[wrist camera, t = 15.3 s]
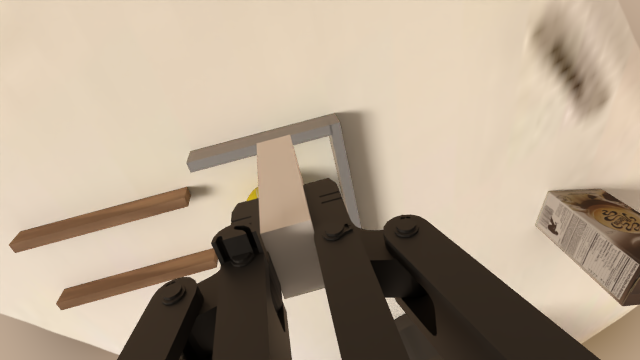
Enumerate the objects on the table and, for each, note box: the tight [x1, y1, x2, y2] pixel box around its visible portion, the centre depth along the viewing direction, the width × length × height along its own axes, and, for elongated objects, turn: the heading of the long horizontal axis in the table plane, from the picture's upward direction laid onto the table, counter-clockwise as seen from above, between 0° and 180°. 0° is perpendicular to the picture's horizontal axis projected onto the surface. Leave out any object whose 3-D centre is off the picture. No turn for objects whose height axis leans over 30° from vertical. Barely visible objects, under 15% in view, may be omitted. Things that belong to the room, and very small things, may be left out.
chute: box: [9, 187, 218, 310], centre depth 47 cm, size 11×20×2 cm, turn 102°
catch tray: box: [187, 113, 361, 228], centre depth 48 cm, size 19×17×3 cm
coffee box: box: [535, 189, 640, 306], centre depth 50 cm, size 9×6×16 cm
